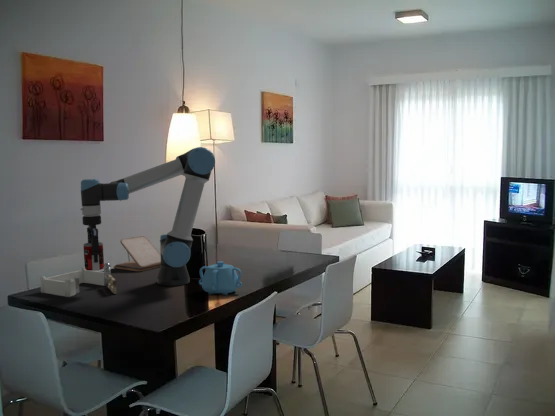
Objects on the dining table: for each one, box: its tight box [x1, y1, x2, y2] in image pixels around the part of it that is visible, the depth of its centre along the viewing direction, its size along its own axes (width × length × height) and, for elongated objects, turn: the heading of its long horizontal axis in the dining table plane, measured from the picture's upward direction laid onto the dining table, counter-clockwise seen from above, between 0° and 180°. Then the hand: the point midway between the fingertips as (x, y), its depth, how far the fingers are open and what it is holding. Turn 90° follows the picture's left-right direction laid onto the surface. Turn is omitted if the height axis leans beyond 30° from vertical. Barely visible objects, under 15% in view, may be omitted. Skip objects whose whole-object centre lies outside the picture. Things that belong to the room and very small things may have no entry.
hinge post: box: [103, 262, 112, 287], centre depth 253 cm, size 3×3×11 cm
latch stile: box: [71, 277, 80, 294], centre depth 240 cm, size 2×2×6 cm
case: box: [113, 235, 161, 273], centre depth 297 cm, size 20×21×16 cm
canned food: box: [83, 241, 105, 271], centre depth 237 cm, size 8×8×11 cm
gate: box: [106, 274, 118, 295], centre depth 244 cm, size 15×1×6 cm, turn 27°
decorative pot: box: [198, 260, 243, 296], centre depth 242 cm, size 16×16×14 cm
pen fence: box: [40, 266, 105, 298], centre depth 247 cm, size 17×25×7 cm
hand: (94, 268), depth 237 cm, fingers closed on canned food, 8 cm apart
